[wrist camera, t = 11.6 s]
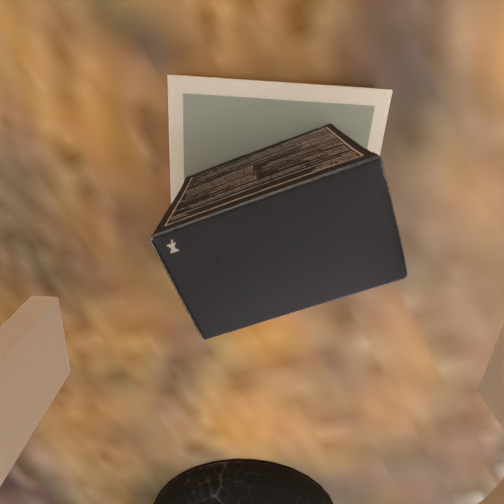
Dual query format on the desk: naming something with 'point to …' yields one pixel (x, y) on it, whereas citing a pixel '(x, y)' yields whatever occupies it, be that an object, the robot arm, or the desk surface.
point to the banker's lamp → (242, 485)
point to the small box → (280, 232)
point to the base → (261, 118)
